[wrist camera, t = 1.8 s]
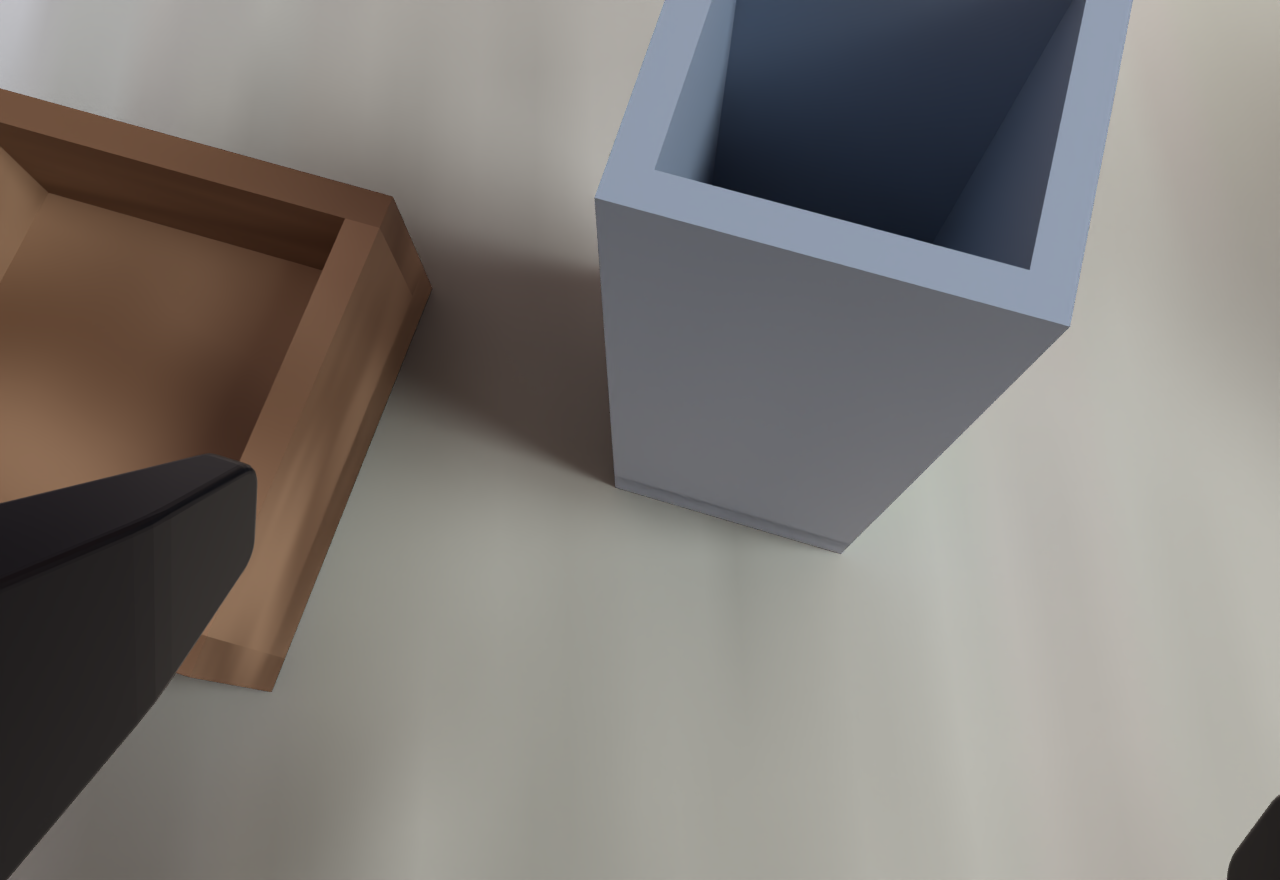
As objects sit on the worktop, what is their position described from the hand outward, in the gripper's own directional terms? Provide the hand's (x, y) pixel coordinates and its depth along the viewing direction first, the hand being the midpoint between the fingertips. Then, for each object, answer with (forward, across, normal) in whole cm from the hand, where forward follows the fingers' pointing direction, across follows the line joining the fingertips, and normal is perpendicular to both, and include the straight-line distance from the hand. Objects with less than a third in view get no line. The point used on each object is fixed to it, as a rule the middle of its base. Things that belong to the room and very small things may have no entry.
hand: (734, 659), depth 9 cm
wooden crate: (+11, +13, +7) cm, 18 cm away
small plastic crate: (+14, 0, +4) cm, 14 cm away
